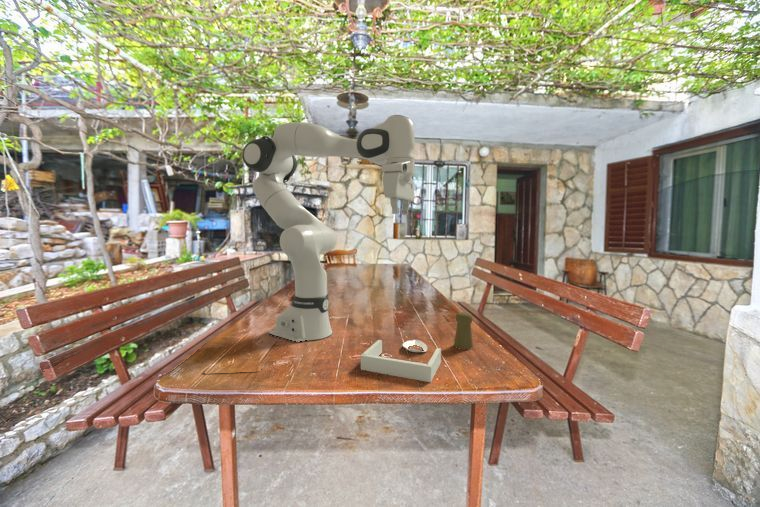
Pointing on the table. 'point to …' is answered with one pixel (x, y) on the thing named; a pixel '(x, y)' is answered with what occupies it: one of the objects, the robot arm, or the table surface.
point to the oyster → (415, 342)
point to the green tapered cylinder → (463, 331)
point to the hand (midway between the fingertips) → (400, 214)
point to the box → (399, 364)
